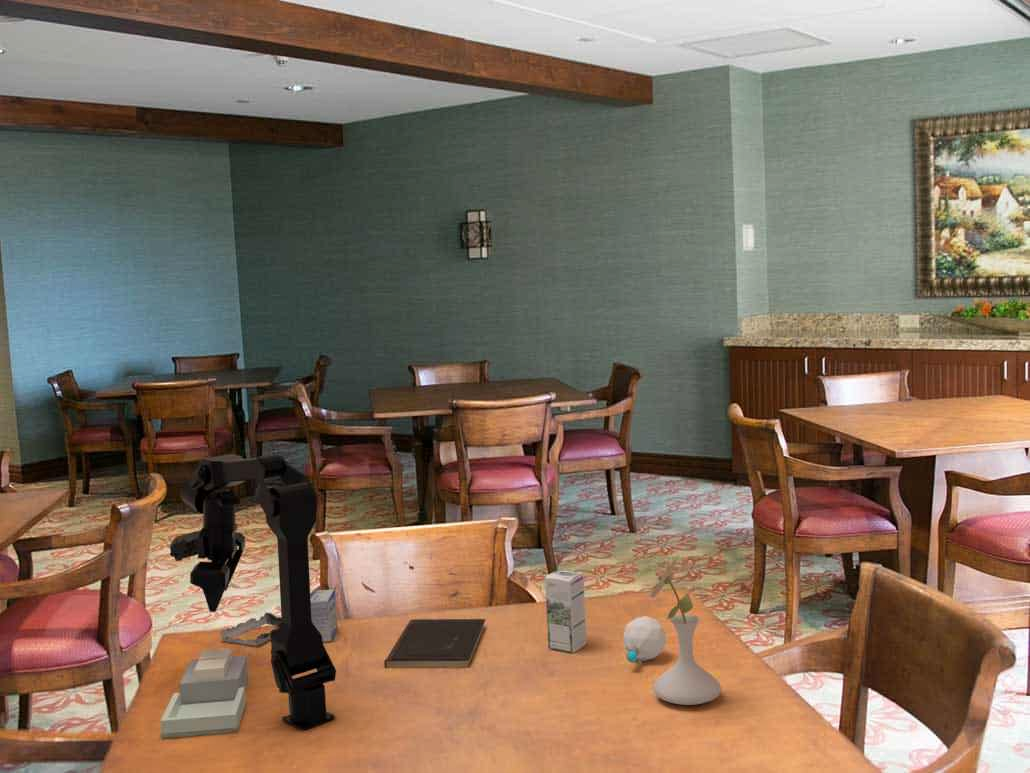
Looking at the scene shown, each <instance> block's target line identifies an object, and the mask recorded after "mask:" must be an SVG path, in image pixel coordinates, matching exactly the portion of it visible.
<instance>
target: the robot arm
mask: <svg viewBox="0 0 1030 773" xmlns="http://www.w3.org/2000/svg"><path fill="white" fill-rule="evenodd" d="M198 464H199V465H198V466H196V469H195V470H194V471H191V472H190V478H188V479H187V480H186V481H185V482H184V483H183V485H182V486H181V488H180V492H179V494H180V498H181V499H182V501H183V502H184V503H185V504H187V505H188V506H189V507H191V508H192V509H193V510H194V511H197V512H198V513H199V514H202V517H203V518H202V519H203V520H202V526H203V527H202V528H201V530H200V529H199V530H195V531H192V532H189V533H184V534H181V535H178V536H177V537H174V538H173V540H172V542H171V543H170V545H169V549H170V553H169V555H170V557H173V558H174V559H175V562H180V561H182V560H184V559H188V558H190V557H194V556H197V559H202V560H204V559H207V560H208V561H198V563H196V564H195V565H194V567H193V568H192V570H191V572H190V576H189V578H190V580H189V583H190V584H191V585H192V586H193V585H194V586H195V587H199V588H201V590H202V591H203V595H204V597H205V600H206V604H207V608H208V611H209V612H210V613H216V612H217V610H218V607H219V605H220V602H221V600H222V597H223V595H224V594H225V591H227V590H228V588H229V585H230V584H231V583H230V582H231V581H232V578H233V576H234V574H235V572H236V569H237V567H238V565H239V562H240V560H241V558H242V555H243V553H244V550H245V547H246V537H245V535H244V534H242V532H237V531H238V526H239V524H238V522H236V513H237V512H236V511H237V509H236V506H238V505H240V504H241V500H240V498H239V497H238V496H237V495H236V494H235V492H234V490H228V489H224V488H229V487H234V486H238V485H240V484H243V483H244V482H246V481H255V483H256V493H255V499H256V501H257V502H258V503H257V504H259V506H260V507H261V510H262V511H263V512H264V514H265V520H266V521H265V522H266V524H267V526H268V527H269V529H270V530H271V531H272V533H273V534H274V536H275V537H276V539H277V541H276V542H277V555H278V556H277V558H278V559H277V560H278V577H279V578H278V579H279V597H280V616H281V619H282V621H281V624H280V626H279V628H278V629H275V628H274V629H275V630H273V629H271V630H272V632H271V635H270V638H271V640H270V644H271V646H270V647H271V650H270V655H271V656H270V664H271V668H272V672H273V677H274V680H275V685H276V687H277V689H278V690H279V691H278V692H279V693H281V694H288V708H289V714H287V715H283V716H282V717H281V719H282V720H281V721H283V722H285V723H286V724H289V725H291V726H292V727H295V728H297V729H298V730H301V731H303V730H307V729H311V728H313V727H316V726H319V725H321V724H323V723H327V722H330V721H332V720H334V719H336V717H335V714H334V713H331V712H329V711H327V700H326V686H325V685H324V684H326V683H330V682H334V681H336V675H337V669H336V668H335V665H334V663H333V661H332V659H331V657H330V655H329V654H328V651H327V649H326V646H324V642H323V640H322V635H321V633H320V632H319V631H318V629H317V628H316V627H315V625H314V624H313V623H312V618H311V581H310V580H311V579H310V559H309V536H310V534H311V532H312V530H313V528H314V526H315V525H316V522H317V520H318V505H319V495H318V492H317V490H316V489H315V487H314V486H313V484H312V482H311V481H310V480H309V479H308V476H307V475H306V474H304V473H303V472H301V471H300V470H298V469H296V468H294V467H293V466H292V465H289V463H288V461H287V460H286V459H285V457H284V456H283V455H281V454H277V453H275V454H270V455H269V454H268V455H262V456H257V457H253V458H243V457H242V455H238V454H233V453H231V454H223V455H218V456H212V457H205V458H204V457H203V458H201V459H200V460H199V462H198ZM278 478H279V480H280V482H283V483H284V484H286V485H280V486H274V487H271V488H269V489H268V487H267V485H266V484H265V483H264V482H265V481H268V480H274V479H278ZM313 670H316V671H314V672H311V673H308V674H307V672H310V671H313ZM304 673H306V674H304ZM300 674H304V675H301V676H297V675H300ZM294 676H297V677H295V678H293V677H294Z"/></svg>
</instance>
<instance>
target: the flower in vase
mask: <svg viewBox="0 0 1030 773" xmlns="http://www.w3.org/2000/svg"><path fill="white" fill-rule="evenodd" d="M676 562H677V559H676V558H675V557H673V556H672V557H671V558H670V559H669V560H667V561H666V564H665V566H664V570H663V572H660V573H659V574H658V576H657V580H658V581H657V582H656V583H654V585H653V586H652V587H651V588H650V591H651V592H650V593H649V595H648V596H649V597H650V598H653V599H654V598H655V597H657V595H658V594H659V593H660V592H661V590H662V588H663V587H664V586H665V585H666V584H669V585H670V587H671V589H672V591H673V594H674V595H675V597H676V600H677V604H676V605H675V606H674V607H673V608H672V609H671V610H670V611H669V613H668V615H667V618H666V620H670V622H671V623H672V625H673V626H674V628H675V631H676V633H677V638H678V649H679V650H678V651H679V652H678V654H679V655H678V660H677V662H676V663H675V664H674V665H673V666H671V667H670V668H668V669H667V670H666V671H664V672H663V673H662V674H661V675H660V676H659V677H658V678H657V679H656V680H655V681H654V684H653V687H652V688H653V692H654V693H655V695H656V696H657V697H658V698H659V699H661V700H663V701H666V702H668V703H671V704H675V705H681V706H683V705H684V706H692V705H693V706H694V705H695V706H696V705H701V704H705V703H709V702H711V701H714V700H715V699H717V698H718V696H720V694H721V692H722V686H721V684H720V682H719V680H718V679H717V678H715V676H714V675H712V674H711V673H710V672H709V671H707V670H705V669H704V668H703V667H701V665H699V664H698V663H697V662H696V660H695V657H694V652H693V651H694V650H693V649H694V647H693V642H694V634H695V630H696V627H697V626H698V624H699V623H700V622H701V618H700V617H699V616H697V615H694V614H688V612H689V611H692V609H693V608H694V606H693V602H692V599H691V597H690V594H689V593H688V592H687V593H686V594H685V595H684V596H682V597H681V598H680V597H679V595H678V593H677V591H676V588H675V587H674V584H673V583H672V581H671V578H670V576H671V574H672V572H673V570H674V568H675V566H676ZM678 611H680V613H681V614H677V612H678ZM686 613H687V614H686Z"/></svg>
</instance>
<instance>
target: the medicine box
mask: <svg viewBox="0 0 1030 773" xmlns="http://www.w3.org/2000/svg"><path fill="white" fill-rule="evenodd" d="M310 597H311V618H312V623H313V624H314V625H315V627H316V628H317V629H318V631H319V632H320V633H321V635H322V640H323V643H331V642H332V641H333V639H334V637H335V635H336V633H337V631H338V627H339V626H338V615H337V601H336V590H335V589H321V590H314V591H313V594H311V595H310Z"/></svg>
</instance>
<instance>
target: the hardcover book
mask: <svg viewBox="0 0 1030 773" xmlns="http://www.w3.org/2000/svg"><path fill="white" fill-rule="evenodd" d="M485 622H486V618H458V619H457V618H453V619H452V618H447V619H446V618H440V619H439V618H438V619H435V618H431V619H428V618H425V619H424V618H423V619H417V618H415V619H410V620H409V621H408V623H407V625H406V626H405V628H404V629H403V631H402V633H401V634H400V636H399V637H398V640H397V641H396V643H395V644H394V646H393V647H392V649H391V650H390V652H389V654H388V656H387V657H386V659H385V660H384V668H385V669H386V668H388V669H389V667H391V668H395V669H396V668H397V667H398V669H399V667H400V668H401V669H402V668H403V669H404V667H408V668H411V669H412V668H415V667H418V668H420V669H421V668H422V669H423V668H468V666H469V664H470V662H471V660H472V657H473V654H474V652H475V650H476V647H477V645H478V642H479V640H480V637H481V636H482V633H483V630H484V628H485V626H484V625H485ZM391 668H390V669H391Z"/></svg>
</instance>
